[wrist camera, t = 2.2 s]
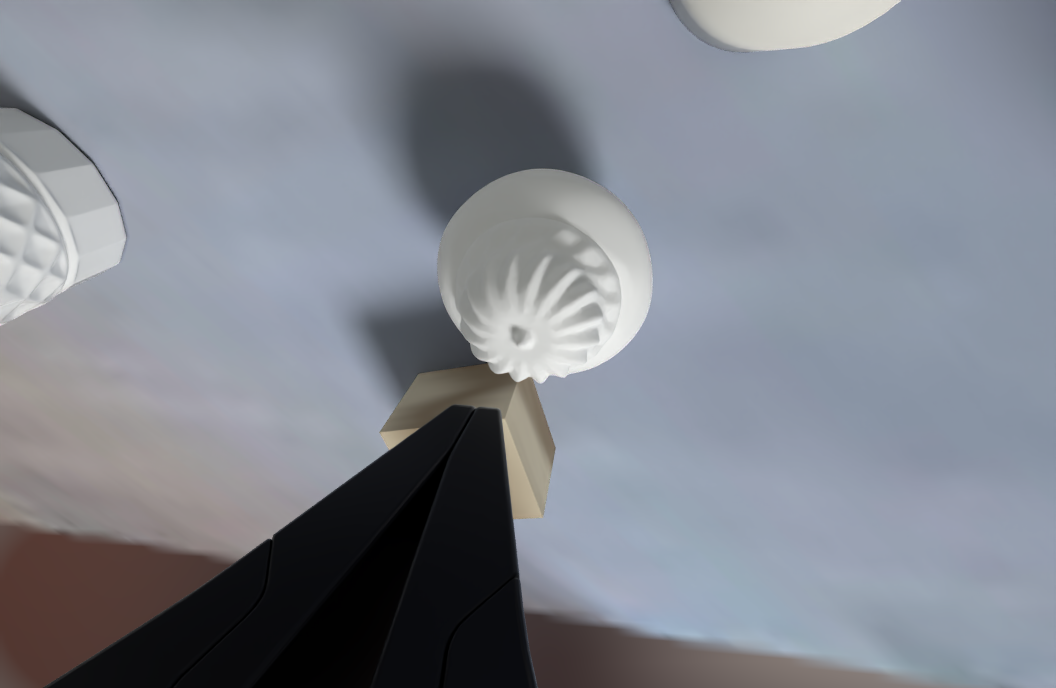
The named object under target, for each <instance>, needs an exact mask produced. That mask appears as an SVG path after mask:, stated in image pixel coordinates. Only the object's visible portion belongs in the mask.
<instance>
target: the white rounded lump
mask: <svg viewBox="0 0 1056 688" xmlns="http://www.w3.org/2000/svg"><path fill="white" fill-rule="evenodd" d="M669 1H670V3H671V5H672V7H673V9H674V12H675V13H676V15H677V16H678V18H679V19H680V21H681V22H682V24H683V25H684V26H685V27H686V28H687V29H688V30H689V32H691V33H692V34H693V35H694V36H695V37H697V38H698V39H699V40H701V41H702V42H704V43H706V44H708V45H709V46H712V47H715V48H717V49H720V50H724V51H729V52H738V53H749V52H760V51H771V50H782V49H793V48H803V47H810V46H814V45H818V44H823V43H826V42H829V41H832V40H835V39H837V38H840V37H843V36H845V35H847V34H850V33H852V32H854V31H856V30H858V29H860V28H862V27H864V26H865V25H867V24H869V23H870V22H872V21H873V20H875V19H877V18H878V17H880V16H881V15H883V14H884V13H886V12H887V11H888V10H889V9H891V8H892V7H893V6H895V5H896V4H897V3H899V2H900V1H901V0H669Z"/></svg>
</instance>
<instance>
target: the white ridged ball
mask: <svg viewBox="0 0 1056 688" xmlns="http://www.w3.org/2000/svg"><path fill="white" fill-rule="evenodd" d="M437 274H438V283H439V288H440V293H441V296H442V300H443V303H444V305H445V308H446V310H447V312H448V314H449V316H450V317H451V319H452V321H453V322H454V324H455V325H456V326H457V328H458V329H459V330H460V332H461V333H462V334H463V336H464V337H465V339H466V340H467V341H468V342H469V343H470V346H471V350H472V353H473V354H474V356H475V357H476V358H478V359H479V360H482V361H486V362H488V365H489V367H490V369H491V371H493V372H494V373H496V374H503V373H507V372H509V374H510V376H511V378H512V379H513V380H514V381H516V382H520V381H522V380H524V379H526V378H528V377H532V378H533V379H534V380H536V381H537V382H538V383H543V382H544V381H545V380H546V379H547V377H548V376H549V375H555V376H558V377H562V378H564V377H566V376H567V375H568V374H572V373H577V372H581V371H585V370H588V369H591V368H594V367H596V366H598V365H600V364H602V363H604V362H605V361H607V360H609V359H610V358H612V357H613V356H615V355H616V354H617V353H618V352H620V351H621V350H622V349H623V348H624V347H625V346H626V345H627V344H628V343H629V342H630V341H631V340H632V339H633V337H634V336H635V335H636V334H637V332H638V331H639V329H640V328H641V326H642V324H643V322H644V320H645V318H646V316H647V313H648V310H649V306H650V303H651V297H652V288H653V274H652V263H651V257H650V252H649V248H648V245H647V242H646V239H645V236H644V234H643V231H642V229H641V227H640V225H639V224H638V222H637V220H636V219H635V217H634V216H633V214H632V213H631V211H630V210H629V209H628V208H627V207H626V205H625V204H624V203H623V202H622V201H621V200H620V199H619V198H618V197H616V196H615V195H614V194H613V193H612V192H610V191H609V190H607V189H606V188H604V187H603V186H601V185H599V184H598V183H596V182H594V181H592V180H590V179H588V178H585V177H583V176H580V175H577V174H574V173H570V172H567V171H562V170H556V169H529V170H523V171H519V172H515V173H511V174H508V175H506V176H503V177H501V178H499V179H497V180H495V181H493V182H491V183H489V184H488V185H486V186H484V187H483V188H481V189H480V190H479V191H477V192H476V193H475V194H474V195H472V196H471V197H470V198H469V199H468V200H467V201H466V202H465V203H464V204H463V205H462V206H461V207H460V208H459V209H458V210H457V212H456V213H455V214H454V215H453V217H452V218H451V220H450V221H449V223H448V225H447V226H446V228H445V231H444V233H443V236H442V239H441V242H440V246H439V251H438V259H437Z"/></svg>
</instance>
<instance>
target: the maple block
mask: <svg viewBox="0 0 1056 688" xmlns="http://www.w3.org/2000/svg"><path fill="white" fill-rule="evenodd" d="M453 404H461V405H471V406H474V407H476V408H478V407H491V408H498V409H500V410H501V414H502V423H503V432H504V441H505V450H506V459H507V468H508V477H509V486H510V495H511V504H512V513H513V519H526V518H543V515H544V510H545V504H546V498H547V493H548V487H549V482H550V476H551V471H552V465H553V459H554V454H555V445H554V442H553V439H552V436H551V433H550V430H549V427H548V424H547V421H546V418H545V415H544V412H543V409H542V406H541V403H540V400H539V397H538V394H537V391H536V388H535V385H534V382H533V379H532V377H528V378H526V379H524V380H522V381H520V382H516V381H514V380H513V379H512V378H511V376H510V374H509V372H507V373H503V374H496V373H494V372H493V371H491V369H490V367H489V365H488V363H486V364H479V365H473V366H466V367H459V368H452V369H446V370H439V371H432V372H426V373H419V374H418V375H417V377H416V378H415V380H414V381H413V383H412V384H411V386H410V387H409V389H408V390H407V392H406V393H405V395H404V396H403V398H402V399H401V401H400V402H399V404H398V405H397V407H396V408H395V410H394V411H393V413H392V414H391V416H390V417H389V419H388V420H387V422H386V423H385V425H384V426H383V428H382V429H381V431H380V432H379V433H380V434H381V436H382V438H383V440H384V442H385V443H386V445H387V447H388V449H389V450H390V449H392V448H393V447H395V446H396V445H397V444H399V443H400V442H401V441H403V440H404V439H405V438H407V437H408V436H410V435H411V434H412V433H414V432H415V431H416V430H418V429H419V428H421V427H422V426H423V425H425V424H426V423H427V422H429V421H430V420H432V419H433V418H434V417H436V416H437V415H438V414H440V413H441V412H442V411H444V410H445V409H447V408H448V407H449V406H451V405H453Z"/></svg>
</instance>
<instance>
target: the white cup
mask: <svg viewBox="0 0 1056 688" xmlns="http://www.w3.org/2000/svg"><path fill="white" fill-rule="evenodd" d="M125 242H126V233H125V229H124V225H123V221H122V217H121V213H120V209H119V205H118V202H117V201H116V199H115V197H114V196H113V194H112V192H111V191H110V189H109V188H108V186H107V184H106V183H105V181H104V180H103V178H102V177H101V175H100V173H99V172H98V170H97V169H96V167H95V166H94V164H93V163H92V162H91V161H90V160H89V159H88V158H87V157H86V156H85V155H84V154H82V153H81V152H80V151H79V150H78V149H77V148H76V147H75V146H74V145H73V144H72V143H71V142H70V141H69V140H68V139H67V138H66V137H65V136H64V135H63V134H62V133H60V132H59V131H58V130H57V129H55V128H53V127H51V126H49V125H47V124H45V123H44V122H42V121H40V120H38V119H36V118H34V117H32V116H30V115H28V114H26V113H25V112H23V111H21V110H19V109H16V108H2V107H0V326H1V325H3V324H5V323H8V322H10V321H12V320H14V319H15V318H17V317H19V316H20V315H22V314H24V313H25V312H28V311H30V310H33V309H35V308H37V307H40V306H42V305H44V304H46V303H48V302H50V301H51V300H52V299H53V298H54V297H55V296H56V295H58V294H60V293H62V292H64V291H65V290H67V289H70V288H72V287H74V286H76V285H79V284H81V283H83V282H85V281H88V280H90V279H92V278H94V277H96V276H98V275H100V274H102V273H104V272H105V271H107V270H109V269H111V268H112V267H114V266H116V265H118V264H119V263H120V260H121V257H122V253H123V249H124V246H125Z"/></svg>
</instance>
